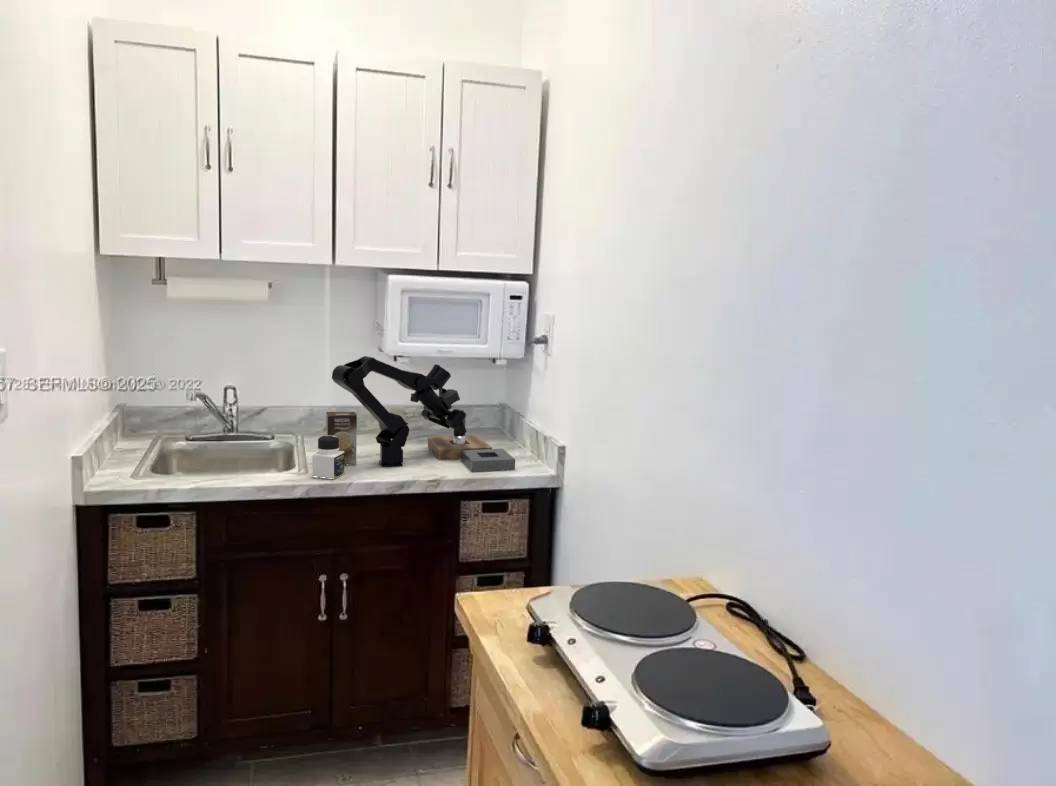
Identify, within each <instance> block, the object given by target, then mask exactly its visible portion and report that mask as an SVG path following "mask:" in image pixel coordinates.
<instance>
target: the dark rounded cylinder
mask: <svg viewBox="0 0 1056 786" xmlns="http://www.w3.org/2000/svg"><path fill="white" fill-rule="evenodd" d="M463 423H464V426H465V427H466V417H465V418H464V419H463ZM452 436H453V445H458V444H465V436H466V433H465V434H464V433H461V432H459V431H457V430H455V429H453V435H452Z"/></svg>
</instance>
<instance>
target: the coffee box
mask: <svg viewBox="0 0 1056 786" xmlns="http://www.w3.org/2000/svg"><path fill="white" fill-rule="evenodd" d="M325 415H326V416H325V417H326V418H325V419H326V421H325V429H326V430H325V436H327V435H332V436H336V437H338V438H339V450H338V451H344V452H345V466H351V465H350V464H356V465H357V430H358V429H357V428H358V427H357V426H358V423H357V422H358V420H357V419H358V418H357V417H358V415H357V413H356V412H355V411H326V414H325ZM347 464H349V465H347Z"/></svg>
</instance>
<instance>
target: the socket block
mask: <svg viewBox="0 0 1056 786" xmlns="http://www.w3.org/2000/svg"><path fill="white" fill-rule="evenodd" d="M460 461H461V462H462V463H463V464H464V465H465V466H466V467H467V468H468V470H469V469H470V470H469V471H470V472H471V473H481V472H482V473H483V472H500V471H501V470H504V471H515V470H516V459H515V458H514V456H512V455H511V454H510V453H508V452H507V451H506V450H505V449H504V448H492V449H481V450H461V459H460Z"/></svg>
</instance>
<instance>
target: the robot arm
mask: <svg viewBox="0 0 1056 786" xmlns="http://www.w3.org/2000/svg"><path fill="white" fill-rule="evenodd" d="M371 372H372V373H375V374H378V375H380V376H383V377H386V378H388V379H391V380H394V382H396V383H397V384H398V385H400V386H401V387H402V388H404V389H406V390H409V391H413V393H411V394H410V400H409V401H410V402H412V403H419V402H420V404H421V405H422V406H423V410H422V411H421V416H422V417H423V419H425V420H427V421H429V422H432V423H434V424H437V425H438V426H441V427H443V428H446V429H452V430H454V429H455V430H457V431H459V432H461V433H464V434H465V435H466V434H467V429H466V425H465V426H464V423H463V419H464V418H465V417H466V416H467V413H466V412H465V410H462V409H460V408H453V410H452V411H451V409H452V407H453V406H452V405H453V404H455V403H456V402H458V401H460V400H461V397H460V396H459V393H458V390H456V389H453V388H451V389H449V388H448V389H446V388H444V386H445V385H446V384H447V382H448V381H449V380H450V379H451V377H452V375H451V373H450V372H449V371H448V370H446V369H445V368H443V367H441V365H440V364H434V365H433V366H432V368H431V369H430V371H429V372H428V373H427V375H424V374H422V373H419V372H415V371H411V370H405V369H401V368H397V367H395V366H393V365H390V364H388V363H386V362H383V361H380V360H378V359H376V358H375V357H372V356H367V355H363V356H362V357H359V358H358V359H355V360H352V361H349V362H347V363H345V364H340V365H337V366H335V367H334V369H333V371H332V372H331V380H332V381H333V382H334V383H335V384H337V385H338V386H339V387H341V389H344V390H345V391H347V392H349V393H350V394H352V396H353V397H354V398H356V400H357V401H358V403H360V404H361V405H362V406H363V407H364V408H365V409H366V410H367V411H368V413H370V415H371V416H372V417H373V418H374V419H375V420H376V422H378V425H379V429H380V431H379V432H378V434H377V436H376V437H375V441H376V443H377V444H378V445H379V447H380V448H379V450H380V451H379V453H380V454H379V461H378V462H379V464H380V466H381V467H400V466H401V467H402V466H403V462H404V450H403V447H406V442H407V440H408V437H409V433H410V427H409V426H408V425H409V422H407V421H405V419H404V418H403V417H402V415H399V414H395V413H392V412H390V411H389V410H387V409H386V407H385V406H384V405H383V404H382V403H381V401H379V399H377V397H376V396H374V394H373V393H372V392H371V391H370V390H369V388H368V387H366V385H365V381H364V379H365V378H366V377H367V376H368V375H369V374H370V373H371ZM414 391H415V392H414ZM436 391H438V394H437V392H436Z"/></svg>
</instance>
